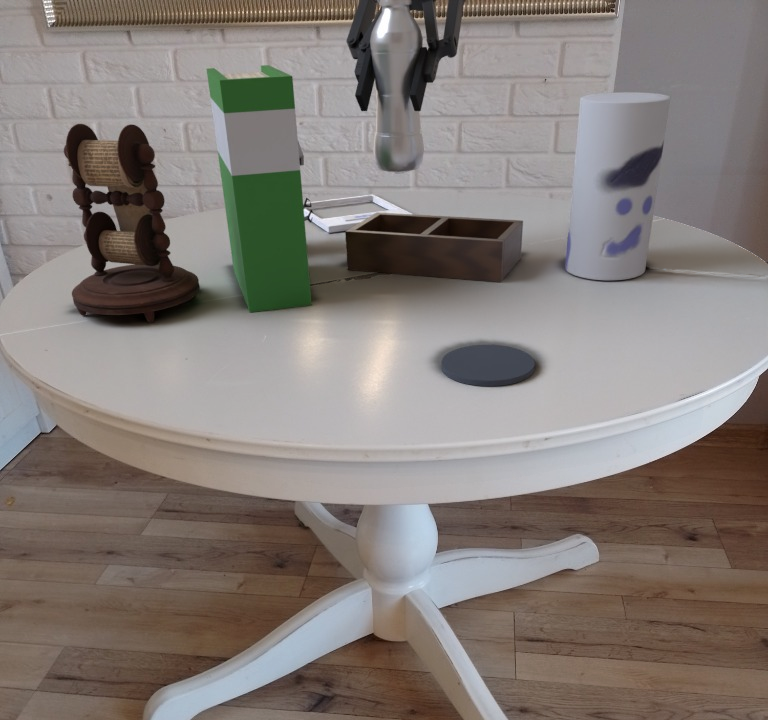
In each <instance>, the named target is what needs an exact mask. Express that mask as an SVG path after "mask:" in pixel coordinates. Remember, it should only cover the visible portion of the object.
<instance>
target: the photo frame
mask: <svg viewBox="0 0 768 720" xmlns="http://www.w3.org/2000/svg"><path fill="white" fill-rule="evenodd" d="M310 202H311V206H312V207H305V209H304V217H306V216H308V215H309V213H310V211H311V210H313V209H319V208H327V207H335V206H342V205H351V204H358V203H359V204H360V203H368V202H372V203H375V204H376V205H378V206H380V207H382V208H384V209H385V210H379V211H371V212H363V213H357V214H349V215H342V216H333V217H326V218H325V217H324V218H321V217H319V216H318V215H317V214H314V212H313V213H312V212H311V214H310V217H309V218H310V220H311V219H312V221H311V223H313V224H315V225H317V226H318V227H319V228H321V229H323V230H324V231H325V232H327V233H328V234H331V233H339V232H344V231H347V230H349V229H350V228H352V227H354V226H355V225H357V224H358V223H360V222H362V221H363V220H365V219H367V218H368V217H370V216H372V215H373V214H375V213H377V212H378V213H396V214H413V213H412V212H410V211H408V210H406V209H404V208H401V207H399V206H397V205H396V204H393V203H392V202H389V201H387V200H386V199H384V198H382V197H379V196H377V195H375V194H372V193H371V194H366V195H357V196H349V197H341V198H332V199H326V200H317V201H307V203H306V205H309V206H310ZM304 203H305V202H303V205H304ZM312 217H313V218H312Z"/></svg>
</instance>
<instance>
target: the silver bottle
mask: <svg viewBox="0 0 768 720" xmlns="http://www.w3.org/2000/svg"><path fill="white" fill-rule="evenodd" d="M410 4H412V0H380V1H379V6H381V7H382V13H381V15H380V16H379V18H378V20H377V22H376V24H375V26H374V28H373V30H372V33H371V38H370V47H371V51H372V52H371V54H372V61H373V67H374V74H375V81H374V84H375V85H374V86H375V91H376V95H375V96H376V115H375V116H376V118H375V131H376V132H375V133H374V138H373V139H374V140H373V152H372V153H373V156H374V163H375V165H376V166H377V168H378V170H380V171H383V172H388V173H391V174H397V175H398V174H404V173H409V172H411V171H415V170H418V169H420V167H421V165H422V164H423V160H424V153H425V147H424V137H423V133H422V131H421V130H422V128H421V117H420V115H421V114H420V111H414V108H413V105H412V102H411V98H410V90H411V86H412V82H413V77H414V73H415V69H416V64H417V60H418V56H419V51H420V48H421V47H423V45H424V44H423V42H424V41H423V40H424V38H423V33H422V30H421V28H420V26H419V24H418V22H417V20H416V19H415V17H414V15H413V14H412V12H411V11H410V9H409V5H410Z"/></svg>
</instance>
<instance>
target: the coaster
mask: <svg viewBox="0 0 768 720" xmlns="http://www.w3.org/2000/svg"><path fill="white" fill-rule="evenodd" d="M440 365H441V367H440V369H441V372H442V373H443V374H444V375H445V376H446V377H447V378H449V379H450V380H453V381H455V382H458V383H461V384H465V385H471V386H478V387H501V386H508V385H514V384H517V383H520V382H524V381H525V380H526V379H529V378H530V377H531V376H532V375H533V374H534V372H535V369H536V368H535V367H536V361H535V359H534V357H533V356H532V355H531V354H529V353H528V352H526V351H524V350H521V349H518V348H516V347H512V346H507V345H500V344H472V345H466V346H463V347H462V346H461V347H459V348H458V347H457V348H455V349H452V350H451V351H449V352H447V353H446V354H445V355H443V357H442V359H441V363H440Z"/></svg>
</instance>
